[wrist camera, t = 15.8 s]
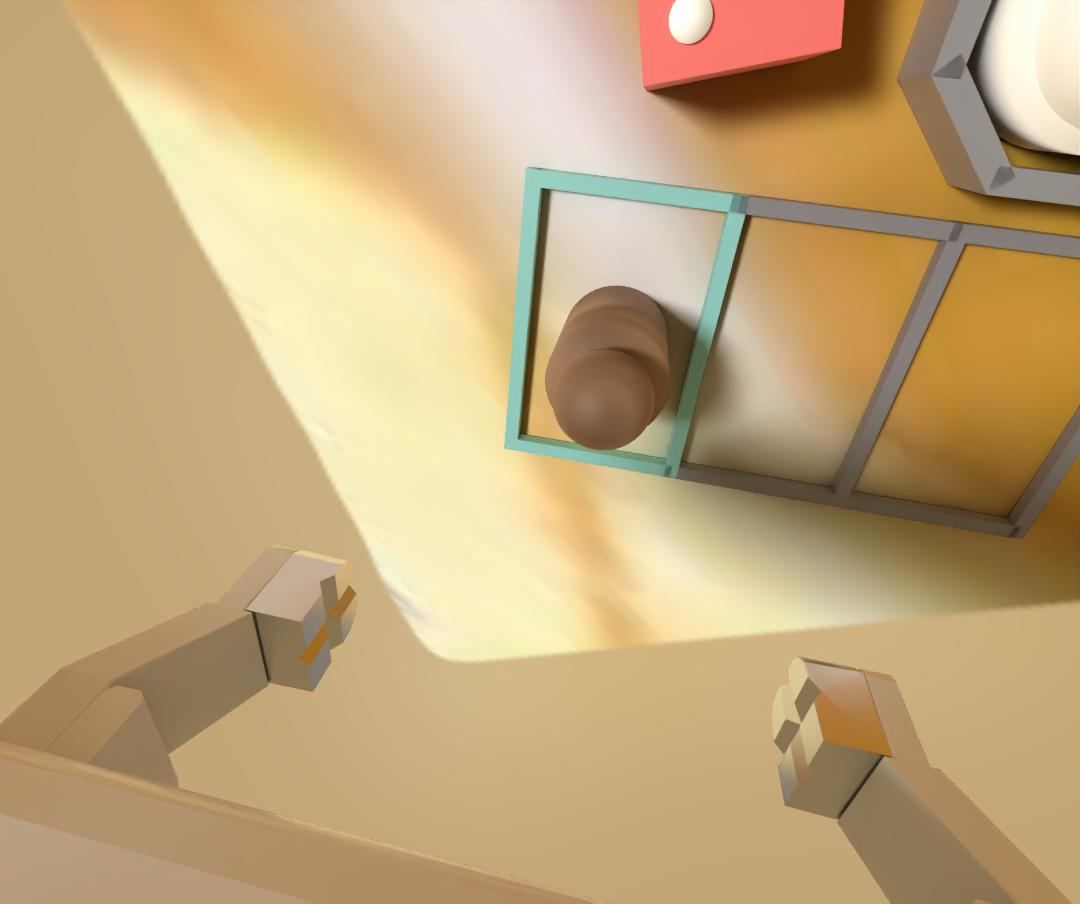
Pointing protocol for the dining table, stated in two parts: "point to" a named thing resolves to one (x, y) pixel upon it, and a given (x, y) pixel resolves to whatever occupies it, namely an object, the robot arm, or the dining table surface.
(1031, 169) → the dome housing
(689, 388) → the frame
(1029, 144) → the dome
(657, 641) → the dining table surface
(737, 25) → the red die
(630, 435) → the pawn
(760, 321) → the dining table surface
